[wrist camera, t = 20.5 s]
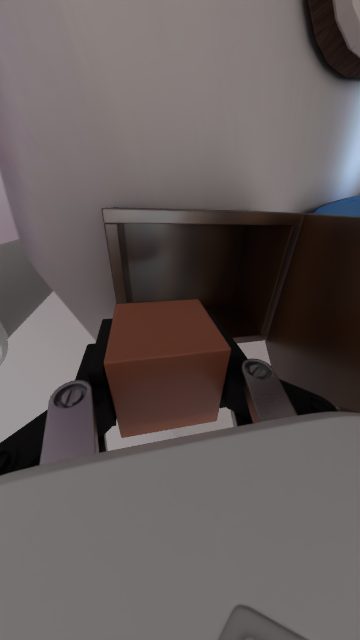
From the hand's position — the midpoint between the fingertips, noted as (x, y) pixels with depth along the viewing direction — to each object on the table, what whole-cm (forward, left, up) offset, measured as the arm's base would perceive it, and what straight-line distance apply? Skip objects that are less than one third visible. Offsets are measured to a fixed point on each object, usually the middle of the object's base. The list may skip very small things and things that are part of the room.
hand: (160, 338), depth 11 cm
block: (0, 0, 0) cm, 0 cm away
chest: (+5, 0, -15) cm, 16 cm away
